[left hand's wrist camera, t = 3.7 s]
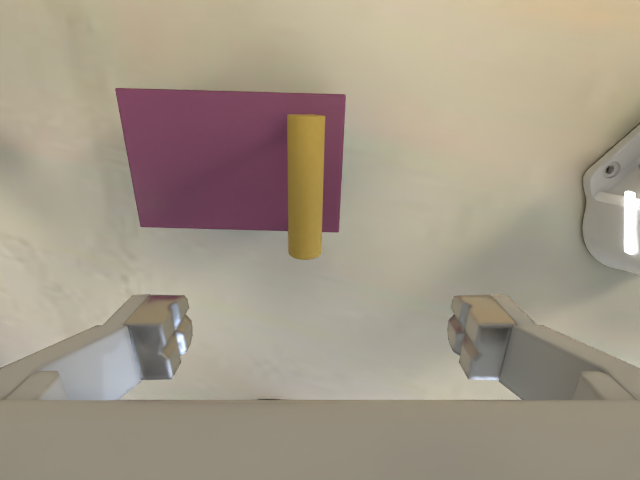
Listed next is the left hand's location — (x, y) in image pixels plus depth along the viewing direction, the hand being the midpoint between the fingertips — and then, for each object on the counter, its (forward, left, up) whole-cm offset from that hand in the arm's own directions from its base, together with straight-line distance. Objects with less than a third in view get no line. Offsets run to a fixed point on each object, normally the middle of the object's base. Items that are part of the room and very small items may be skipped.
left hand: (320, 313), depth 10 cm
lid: (+2, -6, -17) cm, 18 cm away
